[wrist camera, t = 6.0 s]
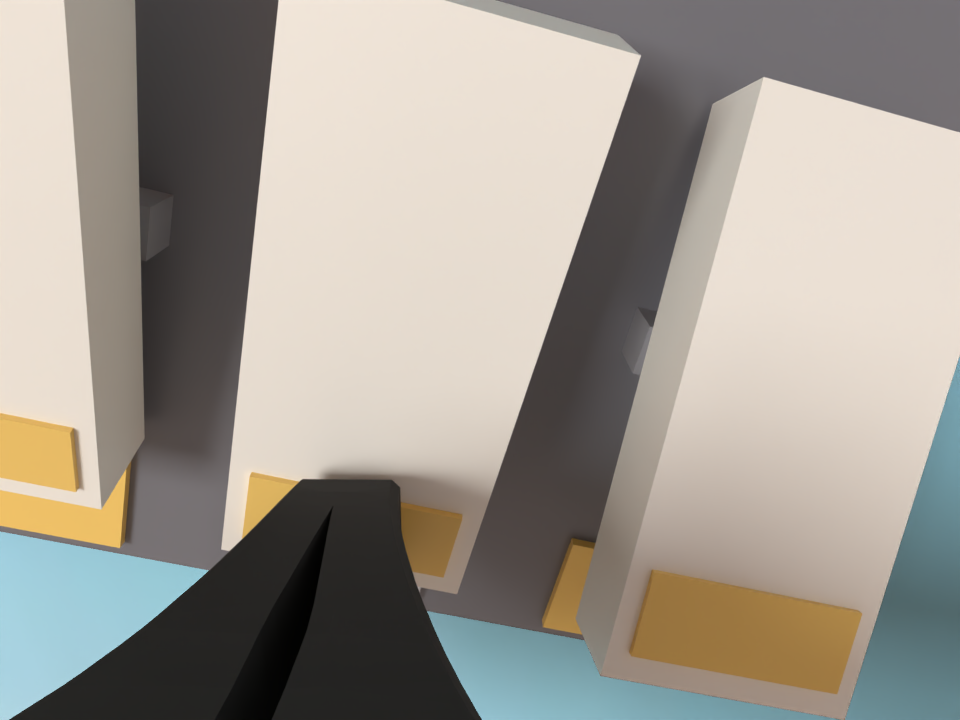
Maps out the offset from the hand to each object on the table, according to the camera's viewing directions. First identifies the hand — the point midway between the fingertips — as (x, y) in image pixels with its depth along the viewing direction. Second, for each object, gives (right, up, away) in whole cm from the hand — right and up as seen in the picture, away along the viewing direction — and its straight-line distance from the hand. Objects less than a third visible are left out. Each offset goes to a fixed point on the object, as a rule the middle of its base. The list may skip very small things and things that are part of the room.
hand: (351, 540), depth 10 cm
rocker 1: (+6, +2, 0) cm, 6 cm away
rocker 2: (+1, +3, 0) cm, 3 cm away
